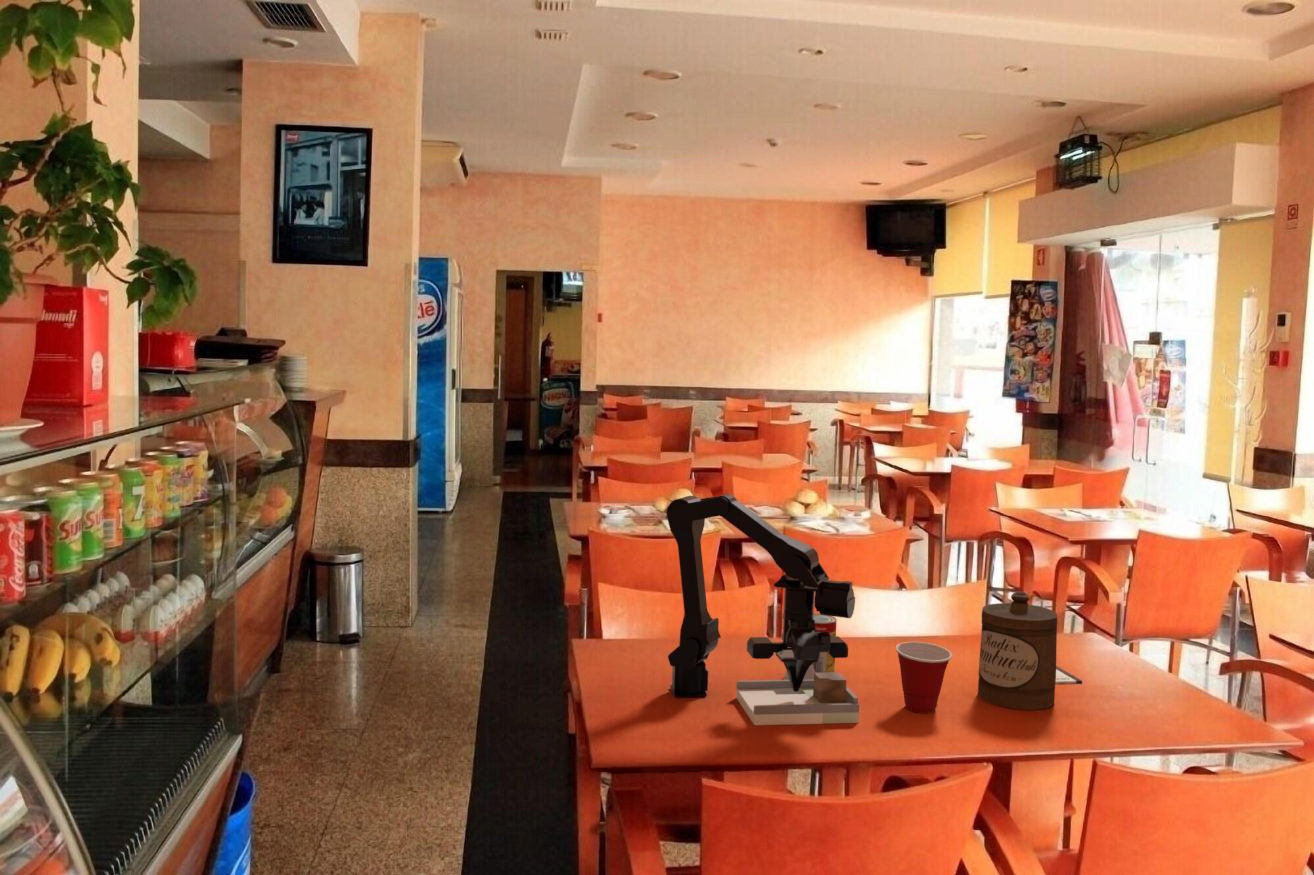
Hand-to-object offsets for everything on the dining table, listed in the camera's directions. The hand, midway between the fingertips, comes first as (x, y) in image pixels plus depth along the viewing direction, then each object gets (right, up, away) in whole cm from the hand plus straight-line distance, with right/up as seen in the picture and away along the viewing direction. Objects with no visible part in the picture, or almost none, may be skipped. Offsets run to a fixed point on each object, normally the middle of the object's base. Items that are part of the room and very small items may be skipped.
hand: (795, 691), depth 217 cm
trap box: (0, -4, 0) cm, 4 cm away
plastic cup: (+25, -4, +3) cm, 25 cm away
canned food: (+8, -2, +26) cm, 27 cm away
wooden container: (+46, -4, +11) cm, 47 cm away
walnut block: (+7, -2, +1) cm, 7 cm away
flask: (+3, -3, +19) cm, 19 cm away
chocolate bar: (+58, -3, +31) cm, 66 cm away
